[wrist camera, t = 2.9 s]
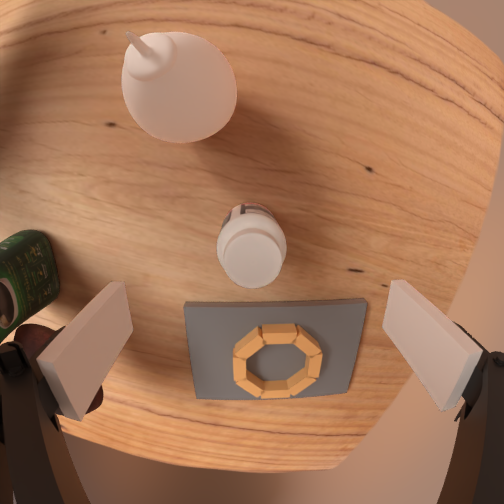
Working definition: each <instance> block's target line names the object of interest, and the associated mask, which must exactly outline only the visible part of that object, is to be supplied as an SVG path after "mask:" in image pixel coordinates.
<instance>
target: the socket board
mask: <svg viewBox="0 0 504 504" xmlns="http://www.w3.org/2000/svg"><path fill="white" fill-rule="evenodd" d="M366 309H367V302H366V300H365V299H364V298H360V299H341V300H318V301H287V302H185V304H184V315H185V324H186V332H187V339H188V347H189V354H190V361H191V367H192V374H193V380H194V386H195V392H196V398H197V399H212V400H267V399H288V398H303V397H314V396H324V395H333V394H341V393H347V390H348V386H349V383H350V379H351V375H352V371H353V368H354V364H355V360H356V355H357V351H358V347H359V343H360V338H361V334H362V329H363V324H364V319H365V314H366Z"/></svg>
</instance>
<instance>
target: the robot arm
mask: <svg viewBox="0 0 504 504" xmlns="http://www.w3.org/2000/svg"><path fill="white" fill-rule="evenodd" d="M382 328H383V329H384V331H385V332H386V334H387V335H388V336H389V338H390V339H391V340H392V342H393V343H394V344H395V346H396V347H397V349H398V350H399V351H400V353H401V354H402V356H403V357H404V358H405V360H406V361H407V363H408V364H409V365H410V367H411V368H412V370H413V371H414V373H415V374H416V375H417V377H418V378H419V380H420V381H421V383H422V384H423V386H424V387H425V388H426V390H427V391H428V393H429V394H430V396H431V397H432V399H433V400H434V402H435V403H436V405H437V407H438V408H439V410H440V411H441V412H442V411H446V410H448V409H451V408H454V407H455V406H456V405H457V403H458V401H459V399H460V397H461V396H462V397H463V398H464V399H465V403H464V404H463V406H462V408H461V410H460V411H459V413H458V414H457V416H456V418H455V420H454V421H457V419H458V418H459V417H460V422H459V427H458V432H457V437H456V441H455V446H454V450H453V454H452V458H451V462H450V465H449V468H448V472H447V475H446V479H445V482H444V485H443V488H442V491H441V494H440V496H439V499H438V502H437V504H504V353H502V352H496V351H495V352H491V353H489V352H488V351H487V350H486V349H485V348H484V347H483V346H482V345H481V344H480V343H479V342H477V341H476V339H474V338H472V336H471V335H470V334H469V333H467V331H466V330H465V329H464V328H463V327H462V326H460V325H459V324H457V323H455V322H453V321H451V320H450V319H449V318H448V317H447V316H446V315H445V314H444V313H442V312H441V311H440V310H439V309H438V308H437V307H436V306H434V305H433V304H432V303H431V302H430V301H429V300H428V299H426V298H425V297H424V296H423V295H422V294H421V293H419V292H418V291H417V290H416V289H415V288H414V287H412V286H411V285H410V284H409V283H408V282H406V281H405V280H404V279H401V280H391V285H390V291H389V296H388V301H387V306H386V311H385V315H384V320H383V324H382ZM133 330H134V329H133V325H132V320H131V315H130V310H129V304H128V299H127V293H126V287H125V282H123V281H111V282H110V283H109V284H108V285H107V286H106V287H105V288H103V289H102V290H101V291H100V292H99V293H98V294H97V295H96V296H95V297H94V298H93V299H92V300H91V301H90V302H89V303H88V304H87V305H86V306H85V307H84V308H83V309H82V310H81V311H80V312H79V313H78V314H77V315H76V316H75V318H74V319H73V320H72V321H71V322H70V323H69V324H68V325H67V326H64V327H62V328H60V329H59V330H57V331H55V332H54V333H53V334H52V335H51V336H50V337H49V340H47V341H46V342H45V343H44V345H42V346H41V347H40V348H39V349H38V350H37V351H36V352H35V354H34V355H33V356H32V357H31V358H30V359H29V360H28V358H27V356H26V353H25V351H24V349H23V346H22V344H21V343H19V342H16V341H11V342H6V343H4V344H2V345H0V504H13V491H14V495H15V499H16V502H17V504H91V503H90V501H89V499H88V497H87V495H86V493H85V491H84V489H83V487H82V484H81V482H80V479H79V477H78V475H77V472H76V470H75V467H74V465H73V462H72V459H71V457H70V454H69V451H68V448H67V445H66V442H65V439H64V436H63V433H62V430H61V426H60V423H59V419H58V417H57V415H56V414H55V412H56V410H57V408H58V407H60V409H61V411H62V413H63V414H64V416H65V417H67V418H70V419H74V420H77V421H82V419H83V417H84V415H85V413H86V411H87V410H88V408H89V406H90V404H91V402H92V400H93V399H94V397H95V395H96V393H97V391H98V390H99V388H100V386H101V384H102V383H103V381H104V379H105V377H106V376H107V374H108V372H109V370H110V369H111V367H112V365H113V364H114V362H115V360H116V358H117V357H118V355H119V353H120V352H121V350H122V348H123V347H124V345H125V343H126V342H127V340H128V338H129V337H130V335H131V334H132V332H133Z"/></svg>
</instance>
